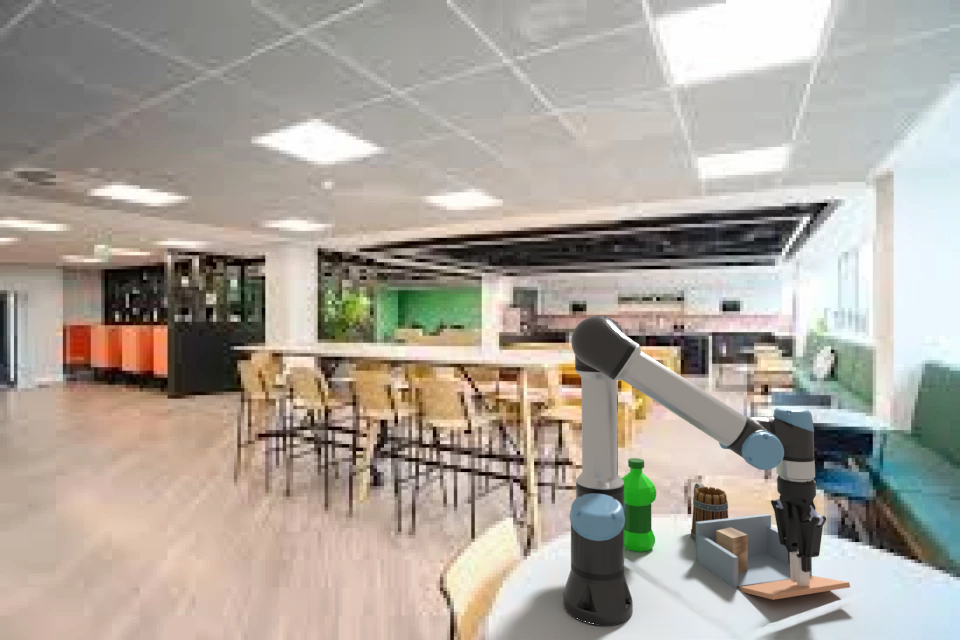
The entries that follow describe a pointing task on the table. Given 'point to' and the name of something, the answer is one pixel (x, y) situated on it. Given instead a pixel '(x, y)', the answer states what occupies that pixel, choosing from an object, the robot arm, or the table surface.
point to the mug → (708, 505)
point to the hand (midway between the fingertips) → (800, 582)
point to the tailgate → (792, 587)
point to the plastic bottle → (638, 508)
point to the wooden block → (734, 545)
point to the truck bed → (762, 551)
